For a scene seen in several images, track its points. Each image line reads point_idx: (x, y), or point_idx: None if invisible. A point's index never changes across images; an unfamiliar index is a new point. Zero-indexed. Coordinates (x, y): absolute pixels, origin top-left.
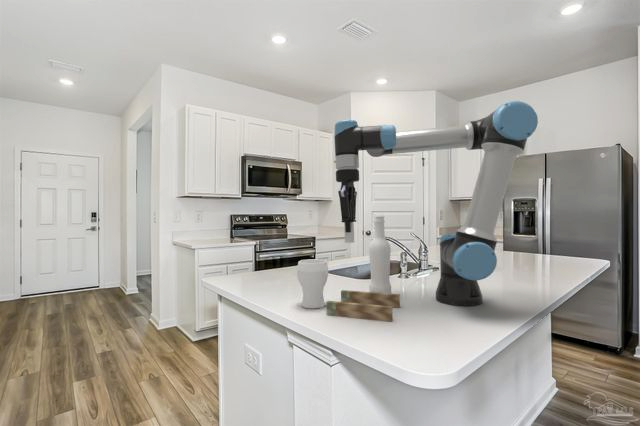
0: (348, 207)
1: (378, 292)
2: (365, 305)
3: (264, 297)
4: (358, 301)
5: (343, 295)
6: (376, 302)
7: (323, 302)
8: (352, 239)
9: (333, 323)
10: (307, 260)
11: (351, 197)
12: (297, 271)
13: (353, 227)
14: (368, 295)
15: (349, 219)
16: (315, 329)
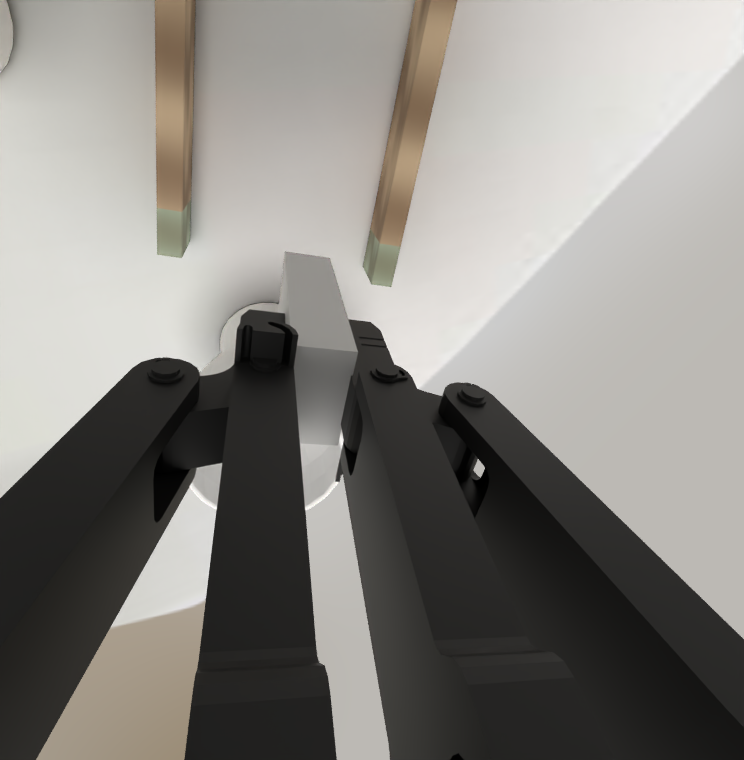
0: (597, 521)
1: (5, 20)
2: (434, 96)
3: (207, 526)
4: (189, 150)
5: (185, 238)
6: (191, 37)
7: (272, 310)
8: (332, 272)
9: (473, 224)
10: (209, 498)
11: (603, 737)
12: (310, 481)
13: (301, 314)
14: (186, 90)
15: (478, 391)
16: (529, 272)
